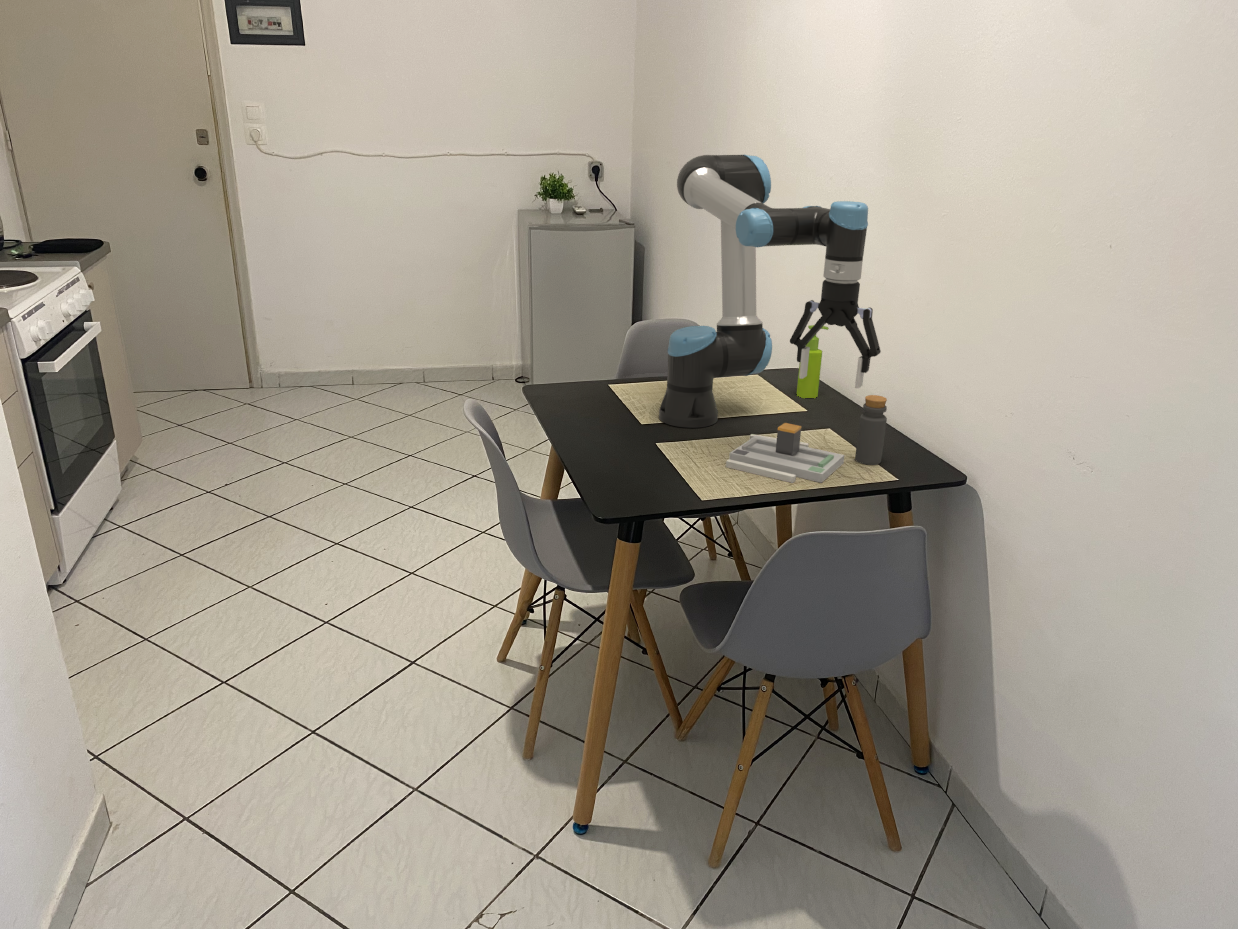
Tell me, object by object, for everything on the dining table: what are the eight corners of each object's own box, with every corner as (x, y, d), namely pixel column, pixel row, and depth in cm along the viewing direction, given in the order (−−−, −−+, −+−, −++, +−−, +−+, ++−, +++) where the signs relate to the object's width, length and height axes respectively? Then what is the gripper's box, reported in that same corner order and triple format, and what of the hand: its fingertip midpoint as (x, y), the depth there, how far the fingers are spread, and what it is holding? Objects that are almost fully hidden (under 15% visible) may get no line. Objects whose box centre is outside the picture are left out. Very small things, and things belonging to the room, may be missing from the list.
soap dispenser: (823, 399, 246) (830, 328, 239) (798, 398, 246) (805, 327, 239) (819, 392, 252) (826, 323, 244) (794, 392, 252) (801, 323, 245)
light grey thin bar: (749, 441, 213) (749, 435, 213) (751, 439, 215) (751, 433, 214) (806, 450, 208) (807, 445, 208) (808, 448, 209) (808, 443, 209)
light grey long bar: (725, 466, 197) (726, 461, 197) (728, 465, 199) (728, 459, 198) (792, 483, 189) (793, 476, 189) (795, 480, 191) (796, 474, 190)
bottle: (876, 467, 199) (885, 403, 194) (851, 461, 202) (859, 398, 196) (884, 459, 204) (892, 397, 198) (859, 454, 207) (867, 392, 201)
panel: (729, 461, 201) (729, 449, 200) (754, 443, 212) (755, 432, 211) (821, 482, 190) (822, 470, 189) (843, 463, 201) (844, 451, 200)
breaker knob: (775, 452, 199) (777, 427, 197) (782, 447, 202) (784, 422, 200) (792, 456, 197) (794, 430, 195) (799, 451, 201) (801, 426, 198)
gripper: (779, 276, 184) (771, 376, 192) (894, 289, 173) (880, 395, 181) (793, 271, 190) (784, 369, 198) (905, 284, 179) (891, 387, 187)
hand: (830, 382), depth 190 cm, fingers open, 12 cm apart
